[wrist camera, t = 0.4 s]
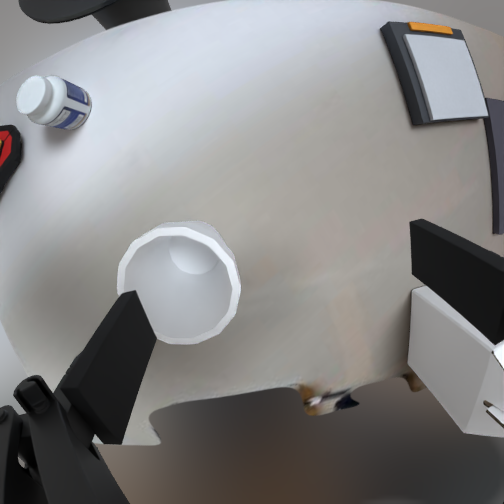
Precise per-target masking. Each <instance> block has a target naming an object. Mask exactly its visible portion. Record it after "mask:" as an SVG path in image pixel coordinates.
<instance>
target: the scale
mask: <svg viewBox="0 0 504 504" xmlns="http://www.w3.org/2000/svg"><path fill="white" fill-rule="evenodd" d="M381 31H382V33H383V36H384V38H385V41H386V43H387V46H388V48H389V51H390V53H391V56H392V59H393V61H394V64H395V67H396V70H397V73H398V76H399V79H400V82H401V85H402V88H403V91H404V95H405V98H406V101H407V105H408V108H409V112H410V116H411V119H412V123H413V125H418V124H426V123H435V122H444V121H455V120H467V119H481V118H489V113H488V109H487V105H486V101H485V98H484V94H483V91H482V87H481V84H480V81H479V77H478V74H477V71H476V68H475V65H474V63H473V60H472V57H471V54H470V52H469V49H468V47H467V44H466V41H465V39H464V37H463V34H462V32H461V30H458V29H452V28H450V27H447V26H440V25H433V24H425V23H416V22H408V23H404V22H387V23H386V24H385V25H384V26H383V27H382V28H381Z"/></svg>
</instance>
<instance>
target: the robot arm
mask: <svg viewBox="0 0 504 504" xmlns="http://www.w3.org/2000/svg"><path fill="white" fill-rule="evenodd" d="M409 223H410V237H411V259H412V275H414V276H415V277H416V278H417V279H419V280H420V281H421V282H422V283H424V284H425V285H426V286H427V287H429V288H430V289H431V290H432V291H433V292H435V293H436V294H437V295H438V296H439V297H441V298H442V299H443V300H444V301H445V302H447V303H448V304H449V305H450V306H451V307H452V308H454V309H455V310H456V311H457V312H458V313H459V314H460V315H462V316H463V317H464V318H465V319H466V320H467V321H468V322H470V323H471V324H472V325H473V326H474V327H475V328H476V329H477V330H478V331H480V332H481V333H482V334H483V335H484V336H485V337H486V338H487V339H488V340H489V341H490V342H491V343H492V344H494V345H497V344H498V343H500V342H502V341H503V340H504V258H503V257H500V255H498V254H496V253H494V252H492V251H488V250H486V249H484V248H482V247H481V246H479V245H477V244H475V243H473V242H471V241H469V240H467V239H465V238H463V237H461V236H458V235H456V234H454V233H452V232H450V231H448V230H446V229H444V228H442V227H439V226H437V225H435V224H433V223H431V222H429V221H426V220H424V219H418V220H415V221H411V222H409ZM156 340H157V337H156V335H155V333H154V331H153V329H152V326H151V324H150V322H149V320H148V317H147V315H146V313H145V311H144V308H143V306H142V304H141V301H140V299H139V297H138V294H137V292H136V290H133V291H129V292H125V293H122V294H121V295H120V296H119V298H118V299H117V301H116V302H115V304H114V305H113V306H112V308H111V309H110V311H109V312H108V314H107V315H106V317H105V318H104V319H103V321H102V322H101V324H100V325H99V327H98V328H97V330H96V331H95V333H94V334H93V336H92V337H91V339H90V340H89V342H88V343H87V345H86V347H85V348H84V350H83V351H82V352H81V353H80V354H79V355H78V356H77V357H76V358H75V359H74V360H73V362H72V364H71V365H70V368H68V370H67V371H66V375H64V376H63V378H62V379H61V381H60V383H59V384H58V386H57V388H56V389H55V391H54V393H52V391H51V390H50V388H49V387H48V386H47V384H46V383H45V381H44V380H43V378H42V377H41V376H39V375H34V376H31V377H28V378H27V379H25V380H23V381H22V382H21V383H20V384H19V385H18V386H17V387H16V389H15V391H14V394H13V396H14V397H15V399H16V400H17V401H18V403H19V404H20V405H21V407H22V408H23V409H24V410H25V411H26V414H22V415H18V414H17V412H16V411H15V410H14V409H13V407H12V406H9V405H7V406H3V407H1V408H0V504H130V503H129V502H128V500H127V498H126V497H125V495H124V494H123V492H122V490H121V489H120V487H119V486H118V484H117V482H116V481H115V479H114V477H113V476H112V474H111V472H110V470H109V469H108V467H107V465H106V463H105V461H104V459H103V458H102V456H101V454H100V452H99V450H98V448H97V447H96V446H95V444H94V443H93V442H92V440H93V437H94V435H95V434H96V436H97V437H98V438H99V439H100V440H101V441H102V442H103V444H118V445H122V441H123V438H124V435H125V432H126V428H127V425H128V422H129V419H130V416H131V413H132V409H133V406H134V403H135V400H136V397H137V394H138V391H139V388H140V385H141V382H142V379H143V376H144V373H145V371H146V368H147V365H148V362H149V359H150V356H151V354H152V351H153V348H154V345H155V343H156ZM18 457H19V458H20V459H21V460H23V462H24V463H25V467H24V468H23V467H22V466H21V465H20V464H19V462H18ZM503 504H504V502H503Z"/></svg>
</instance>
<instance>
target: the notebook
mask: <svg viewBox="0 0 504 504" xmlns="http://www.w3.org/2000/svg"><path fill="white" fill-rule="evenodd" d="M485 101H486V105H487V109H488V113H489V118H484V121H485V127H486V133H487V139H488V147H489V155H490V164H491V175H492V190H493V233H495V234H499V235H500V234H503V233H504V101H501V100H496V99H490V98H485Z"/></svg>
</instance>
